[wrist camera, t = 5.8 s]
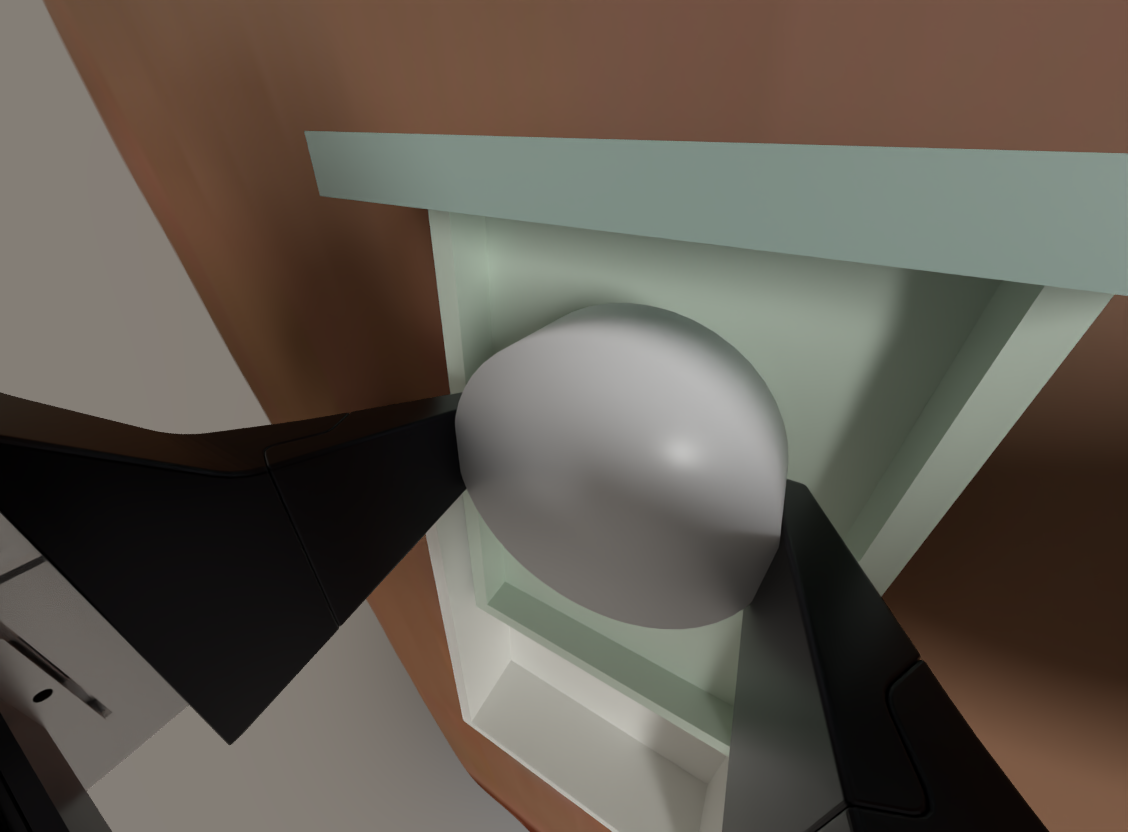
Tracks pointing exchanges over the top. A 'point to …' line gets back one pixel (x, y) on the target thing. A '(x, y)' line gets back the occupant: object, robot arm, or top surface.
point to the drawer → (767, 321)
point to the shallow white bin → (569, 715)
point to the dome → (629, 464)
